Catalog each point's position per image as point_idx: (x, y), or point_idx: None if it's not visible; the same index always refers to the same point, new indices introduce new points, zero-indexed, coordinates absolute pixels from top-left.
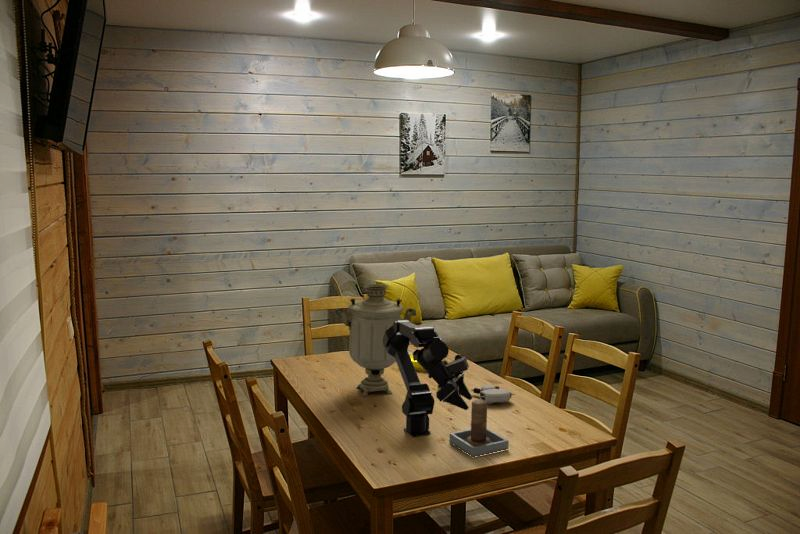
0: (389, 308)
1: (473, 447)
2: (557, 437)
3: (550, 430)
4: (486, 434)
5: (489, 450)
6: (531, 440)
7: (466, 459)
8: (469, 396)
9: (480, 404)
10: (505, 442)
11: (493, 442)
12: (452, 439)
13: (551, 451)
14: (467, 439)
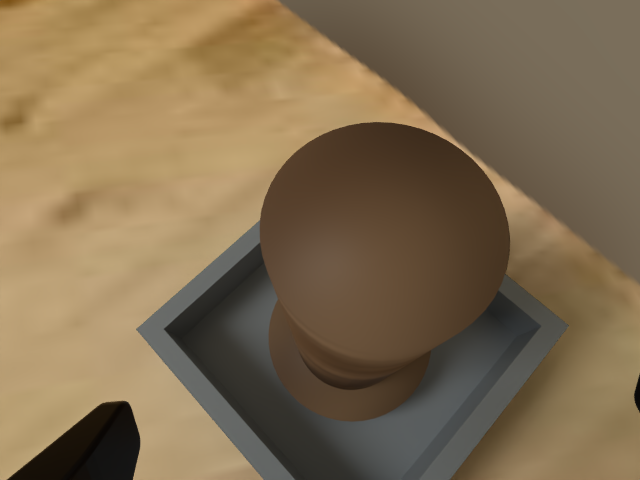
0: None
1: (553, 327)
2: (117, 5)
3: (30, 34)
4: (207, 306)
5: None
6: (178, 94)
7: (570, 374)
8: (107, 459)
9: (458, 197)
10: None
11: None
12: None
13: (289, 14)
14: (373, 412)
